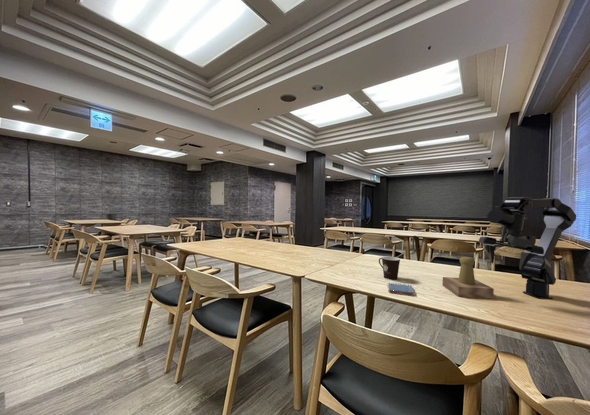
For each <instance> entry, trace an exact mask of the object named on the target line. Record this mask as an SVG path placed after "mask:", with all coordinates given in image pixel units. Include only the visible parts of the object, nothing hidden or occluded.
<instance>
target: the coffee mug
mask: <svg viewBox="0 0 590 415" xmlns="http://www.w3.org/2000/svg"><path fill="white" fill-rule="evenodd" d="M400 262H401V259H400V258H399V257H396V256H391V255H390V256H388V255H387V256H385V255H384V256H381V257H380V258H379V259H378V264H379V265H380V266H381V268H382V271H383V278H384V279H386V280H391V281H392V280H393V281H396V280H398V275H399V269H400ZM381 263H382V264H381Z"/></svg>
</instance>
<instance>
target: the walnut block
mask: <svg viewBox="0 0 590 415" xmlns="http://www.w3.org/2000/svg"><path fill="white" fill-rule="evenodd" d="M458 279H459V277H448V276H442V287H444V288H445V289H447V290H449V291H450V292H451V293H453V294H454V295H455V296H457V297H461V298H475V299H476V298H479V299H494V294H495V293H494V290H495V289H494V288H493V287H491V286H489V285H487V284H485V283H484V282H482V281H479V280H477V279H475V285H467V284H463V283H460V282H458Z"/></svg>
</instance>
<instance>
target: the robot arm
mask: <svg viewBox="0 0 590 415" xmlns="http://www.w3.org/2000/svg"><path fill="white" fill-rule="evenodd" d="M493 207H494V208H493V209H491V210H490V211H489V212H488V213H487V215H486V216H487V217H486V218H487V220H488V222H489V223H491V224H496V225H499V226H502V229H501V230H500V232H502V233H501V237H500V238H499V240H497V238H495V237H489V236H480V237H479V239H478V243H479V244H481V246H483V247H484V248H485V250H486V252H487V255H488V258H489V262H490V264H494V261H495V254H496V249H497V246H502V247H505V248H506V247H507V248H511V249H516V250H517V249H518V250H522V251H521V252H520V257H519V264H518V265H519V267H518V268H519V272H520V275H521V278H522V279H526V283H525V291H524V290H522V293H523V294H525V295H528V296H531V297H534V298H536V299H554V297H553V296H551V295H550V286H551V285H552V286H554V285H555V284H556V282H557V278H556V277H555V275H554V274H553V273H552V266H551V263H550V259H551V257H552V255H553V252H554V251H555V248H556V247H557V245H558V242H559V240H560V237H561V236H562V233H563V232H564V231H565V230H568V229H569V228H571V227H572V226H573V224H574V222H575V221H576V220H577V215H576V213H575V211H574V210H573V209H572V207H571V206H568V205H567V204H565V203H563V202H562V201H561V200H560V199H559V198H557V197H551V198H550V197H548V198H546V197H545V198H536V199H535V198H534V199H533V198H531V197H527V196H516V197H515V196H514V197H513V196H512V197H509V196H508V197H506V198H505V200H504V201H503V202H502V203H501V204H500V205H497V206H496V205H495V206H493ZM548 208H549V209H548ZM552 208H553V209H552ZM533 209H541V212H540V215H542V217H543V222H544V225H545V228H544V230H543V232H542V234H541V237H540V239H539V241H538V243H537V245H536V242H537V237H536V236H532V235H527V236H525V232H524V231H523V229H524V223H525V220H528V219H529V216H528V215H526V214H525V212H529V211H532V210H533Z"/></svg>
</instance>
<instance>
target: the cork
mask: <svg viewBox="0 0 590 415" xmlns="http://www.w3.org/2000/svg"><path fill="white" fill-rule="evenodd" d="M475 262H476V261H475V258H473V257H470V256H461V257H460V258H459V263H460V267H459V274H458V278H459V279H458V282H460V283H463V284H467V285H475V280H476V278H475V271H474V265H475Z"/></svg>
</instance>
